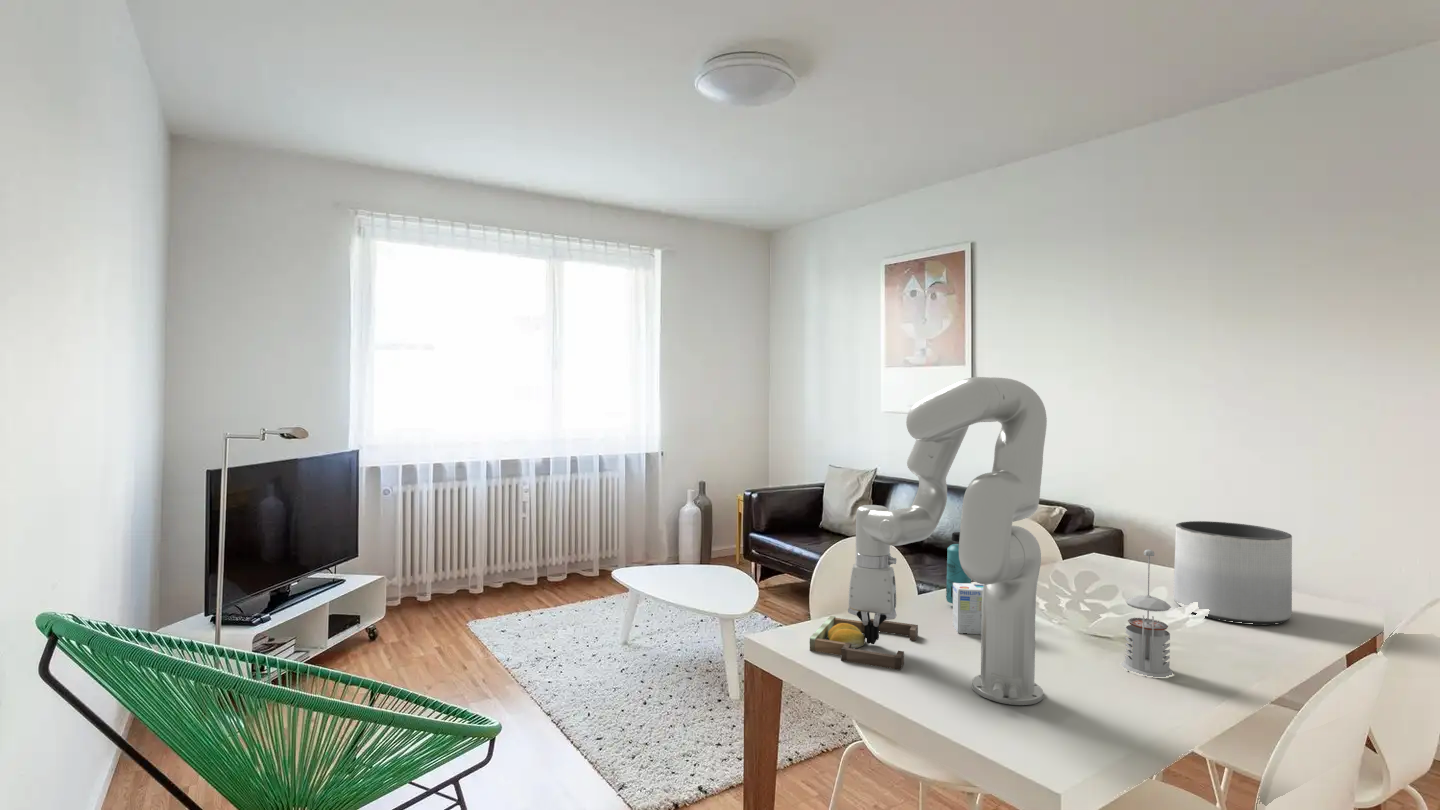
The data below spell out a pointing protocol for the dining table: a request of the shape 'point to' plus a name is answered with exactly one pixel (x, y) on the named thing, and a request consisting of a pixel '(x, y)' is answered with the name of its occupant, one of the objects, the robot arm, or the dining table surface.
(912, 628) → the frame
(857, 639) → the bread roll
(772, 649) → the dining table surface
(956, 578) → the beverage bottle
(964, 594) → the light bulb box
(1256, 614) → the planter
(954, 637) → the dining table surface
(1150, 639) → the french press
